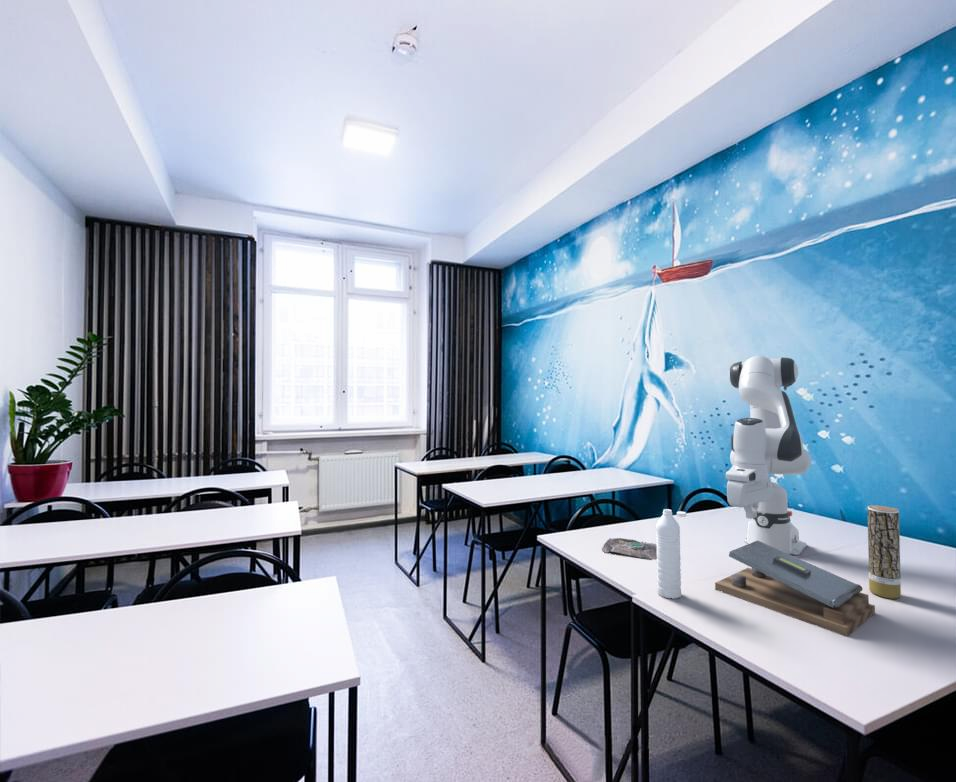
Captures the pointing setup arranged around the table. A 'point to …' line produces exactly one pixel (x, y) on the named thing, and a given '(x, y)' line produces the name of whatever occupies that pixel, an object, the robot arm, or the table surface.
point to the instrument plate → (797, 573)
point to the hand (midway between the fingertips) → (751, 517)
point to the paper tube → (884, 551)
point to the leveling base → (796, 601)
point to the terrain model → (631, 548)
